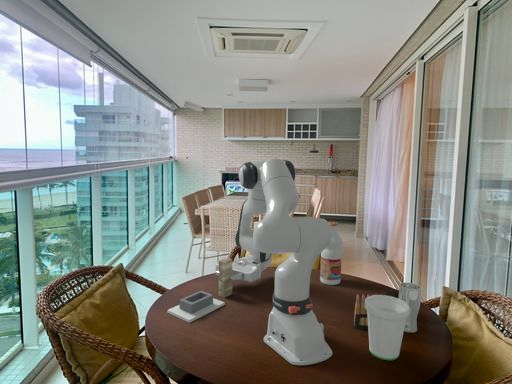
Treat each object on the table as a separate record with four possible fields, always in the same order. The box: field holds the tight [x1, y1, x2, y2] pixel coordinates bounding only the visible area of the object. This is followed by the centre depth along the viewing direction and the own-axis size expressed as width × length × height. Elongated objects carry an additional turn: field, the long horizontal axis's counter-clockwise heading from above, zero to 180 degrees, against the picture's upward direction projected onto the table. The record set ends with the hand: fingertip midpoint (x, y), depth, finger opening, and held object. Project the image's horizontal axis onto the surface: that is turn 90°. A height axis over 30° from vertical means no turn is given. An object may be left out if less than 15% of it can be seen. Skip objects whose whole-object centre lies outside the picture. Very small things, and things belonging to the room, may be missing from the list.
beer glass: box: [398, 281, 422, 334], centre depth 114 cm, size 7×7×15 cm
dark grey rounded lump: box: [384, 288, 399, 298], centre depth 125 cm, size 8×7×8 cm
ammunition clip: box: [352, 293, 375, 330], centre depth 114 cm, size 11×2×12 cm, turn 87°
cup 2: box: [365, 294, 410, 361], centre depth 100 cm, size 12×12×15 cm
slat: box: [218, 257, 233, 299], centre depth 139 cm, size 3×5×15 cm, turn 143°
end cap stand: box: [166, 290, 226, 324], centre depth 127 cm, size 12×18×4 cm, turn 143°
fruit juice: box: [319, 221, 343, 286], centre depth 155 cm, size 9×9×28 cm
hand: (224, 275), depth 138 cm, fingers open, 7 cm apart
